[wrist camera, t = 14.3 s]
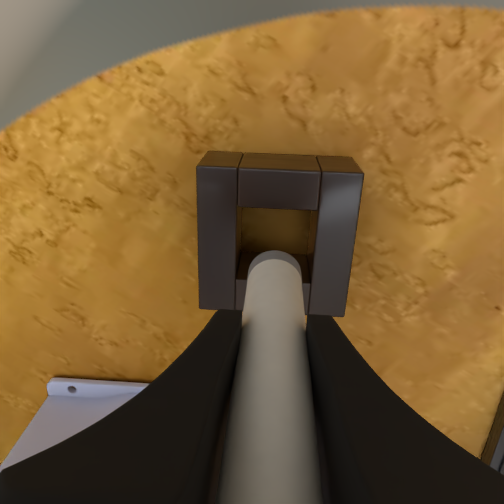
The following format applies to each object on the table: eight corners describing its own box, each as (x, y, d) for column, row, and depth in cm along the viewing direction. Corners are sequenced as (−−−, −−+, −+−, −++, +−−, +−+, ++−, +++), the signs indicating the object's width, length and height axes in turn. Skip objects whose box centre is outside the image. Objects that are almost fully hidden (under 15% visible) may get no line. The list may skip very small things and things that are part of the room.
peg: (247, 294, 15) (188, 728, 5) (249, 248, 15) (183, 650, 5) (299, 297, 15) (335, 744, 5) (303, 250, 15) (354, 666, 5)
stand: (208, 278, 22) (198, 309, 19) (207, 150, 19) (195, 165, 16) (336, 285, 22) (344, 318, 19) (352, 156, 19) (365, 172, 16)
